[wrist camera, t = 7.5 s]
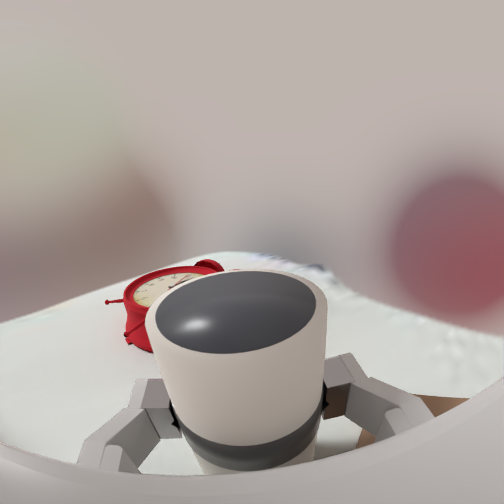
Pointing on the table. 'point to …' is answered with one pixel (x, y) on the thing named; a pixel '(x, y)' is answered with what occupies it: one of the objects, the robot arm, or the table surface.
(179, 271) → the alarm clock
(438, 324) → the table surface
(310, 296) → the white lens
